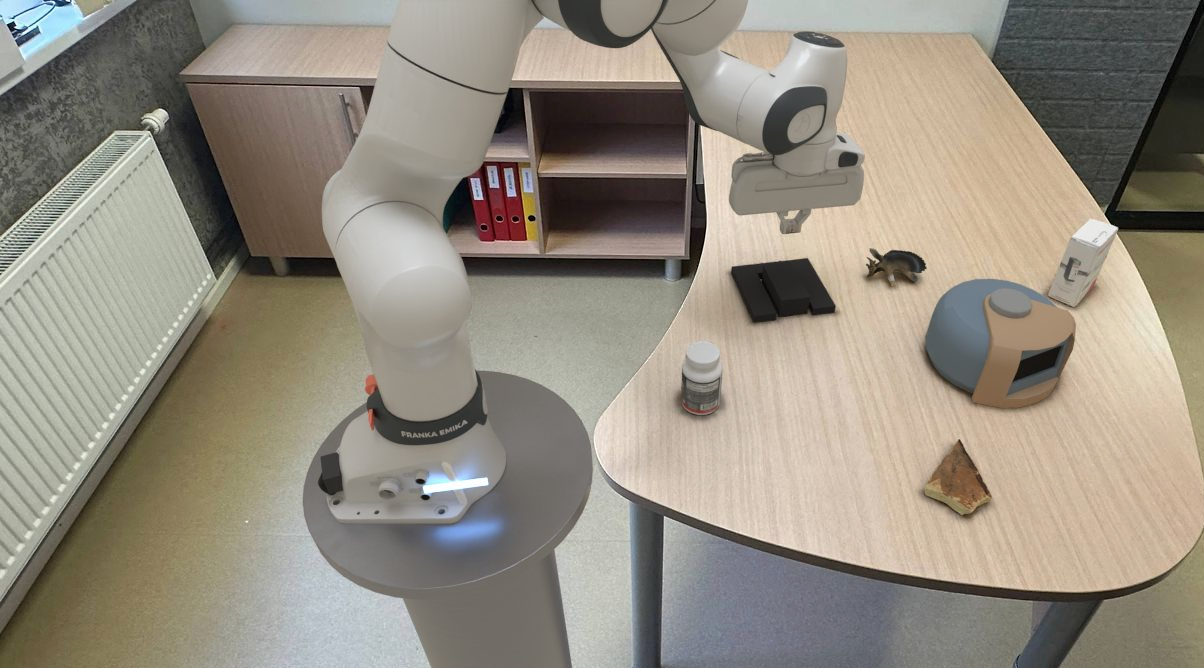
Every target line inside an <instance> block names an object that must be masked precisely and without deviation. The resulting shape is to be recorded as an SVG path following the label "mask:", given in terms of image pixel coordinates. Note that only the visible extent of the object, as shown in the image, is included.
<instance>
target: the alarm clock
mask: <svg viewBox="0 0 1204 668" xmlns="http://www.w3.org/2000/svg"><path fill="white" fill-rule="evenodd" d="M1076 329H1077V325H1076V319H1075V317H1074V316H1073V314H1071V312H1069V310H1067V309H1063V308H1061V307H1058V306H1056V305H1055V304H1054V303H1053V302H1052V301H1051V300H1050V299H1049V298H1048V297H1046V296H1045V295H1043V294H1041V293H1039V292H1038V291H1036V290H1035V289H1032V288H1030V287H1028V286H1026V285H1023V284H1021V283H1017V282H1013V281H1010V280H1004V279H997V278H976V279H971V280H965V281H962V282H960V283H958V284H956V285H954V286H952V287H950V288H949V289H948V290H947V291H946V292H945V293H944V294H942V295H941V297H940V298H939V300H938V301H937V303H936V305H935V306H934V309H933V312H932V314H931V317H930V321H929V324H928V327H927V330H926V333H925V336H924V343H925V344H924V345H925V349H926V351H927V354H928V356H929V359H930V362H931V363H932V365H933V367H934V369H935V370H936V371H937V372H938V373H939V374H940V375H941V377H943V378H944V379H945V380H947V381H948V382H949V383H951V384H952V385H954V386H956V387H957V388H960V389H961V390H964V391H965V392H967V393H971V394H972V396H971V402H972V403H974V404H979V405H983V406H989V407H994V408H1000V409H1017V408H1019V409H1021V408H1024V407H1027V406H1030V405H1034V404H1036V403H1038V402H1041V401H1042V400H1044V399H1046V398H1048V397H1049V395H1050V394H1051V393H1052V392H1053V390H1054V389H1055V387H1056V385H1057V383H1058V381H1059V380H1060V377H1061V375H1062V373H1063V371H1064V369H1065V367H1066V365H1067V362H1068V360H1069V359H1070V356H1071V354H1072V352H1073V350H1074V347H1075V342H1076V332H1077V331H1076Z"/></svg>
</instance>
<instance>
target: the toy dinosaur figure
mask: <svg viewBox="0 0 1204 668" xmlns="http://www.w3.org/2000/svg"><path fill="white" fill-rule="evenodd" d="M869 253H870V254H871V256H872V257H873V258H874V259H875V260H873V259H871V258H870V257H868V256H867V257H866V259H867V260H868V262H869V264H868V263H865V266H866V267H867V269H868V273H867V276H866V278H869V279H870V278H872V277H874V276H875V274H878V273H881V272H883V273H884V274H883V275H885V277H886V278H887V279H888V281H889V284H890V288H893V286H894V284H895V277H894V273H898V274H901V275H903V276H905V277H906V278H908V279H910V280H911V281H912V282H917V281H918V280H919V278H918V276H917V275H916V274H921V273H923V272H925V270H927V269H928V267H927V263H926V262H925V260H924V259H923V257H921V256H920V255H918V254H917V253H915V252H913V251H909V250H901V249H899V250H898V249H890V250H889V251H887V252H886V253H884V255H883V254H880V253H879V251H878V250H877V249H875V248H872V247H870V248H869ZM877 261H878V262H877Z"/></svg>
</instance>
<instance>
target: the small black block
mask: <svg viewBox="0 0 1204 668" xmlns="http://www.w3.org/2000/svg"><path fill="white" fill-rule="evenodd" d="M761 282H762V284H763V286H764V288H765V290H766V292H767V294H768V296H769V298H770V300H771V302H772V304H773V306H774V308H775V310H776V312H777V316H778V318H783V317H785V318H786V317H791V316H800V315H807V314H808V313H809V302H810V295H809V293H808V292H807V290H806V288H805V286H804V285H803V283H802V281H801V279H800V277H799V276H798V274H797V272H796V270H795V268H794V267H793V265H792V263H791V262H788V263H779V264H770V265H763V271H762V280H761Z"/></svg>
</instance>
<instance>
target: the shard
mask: <svg viewBox="0 0 1204 668" xmlns="http://www.w3.org/2000/svg"><path fill="white" fill-rule="evenodd" d="M924 495H925V496H926V497H929V498H931V499H934V500H937V501H939V502H942V503H945V504H946V505H948V506H949V507H950V508H951V509H952V510H953V511H955V512H957V513H958V514H959V515H960V516H963V515H967V514H971V513H973V512H974V511H975V510H977V509H976V508H978V507H980V506H982V505H984V504H986V503H988V502H990V501H991V500H992V499H993V497H992V494H991V492H990V490H989V488H988V486H987V484H986V483H985V482H984V478H983V477H982V475H981V473H980V471H979V469H978V467H977V465H976V464H975V463H974V461H973V459H972V458H971V456H970V455H969V453H968V452H967V450H966V448H965V447H964V443H963V442H962V441H961V439H960V438H958V439H957V441H956V442H955V444H954V445H953V446H952V448H951V450H950V451H949V452H948V453H947V455H946V456H945V457H944V458H943V459H942V460H941V462H940V463H939V464H938V465H937V467H936V468H935V470H934V471H933V472H932V474H931V475H930V477H929V480H928V481H927V483H926V484H925V487H924Z"/></svg>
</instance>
